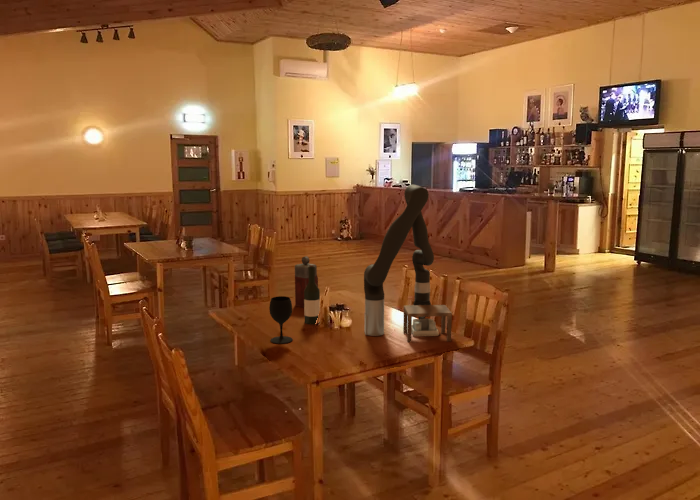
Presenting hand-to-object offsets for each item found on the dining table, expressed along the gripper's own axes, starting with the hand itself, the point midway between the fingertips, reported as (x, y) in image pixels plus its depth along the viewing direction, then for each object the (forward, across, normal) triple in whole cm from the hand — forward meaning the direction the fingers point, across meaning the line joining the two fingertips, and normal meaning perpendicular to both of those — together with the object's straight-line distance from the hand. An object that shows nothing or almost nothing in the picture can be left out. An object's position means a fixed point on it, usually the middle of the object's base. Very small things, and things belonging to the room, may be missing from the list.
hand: (421, 324), depth 287 cm
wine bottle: (+2, +54, -12) cm, 56 cm away
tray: (+2, 0, +8) cm, 8 cm away
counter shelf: (+2, 0, +14) cm, 14 cm away
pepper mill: (+2, +58, -47) cm, 74 cm away
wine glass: (+2, +68, +16) cm, 70 cm away
